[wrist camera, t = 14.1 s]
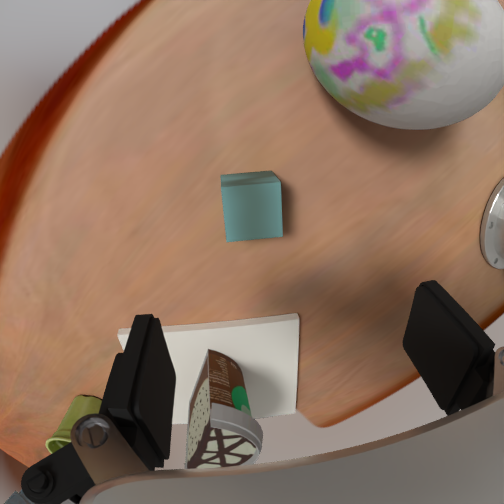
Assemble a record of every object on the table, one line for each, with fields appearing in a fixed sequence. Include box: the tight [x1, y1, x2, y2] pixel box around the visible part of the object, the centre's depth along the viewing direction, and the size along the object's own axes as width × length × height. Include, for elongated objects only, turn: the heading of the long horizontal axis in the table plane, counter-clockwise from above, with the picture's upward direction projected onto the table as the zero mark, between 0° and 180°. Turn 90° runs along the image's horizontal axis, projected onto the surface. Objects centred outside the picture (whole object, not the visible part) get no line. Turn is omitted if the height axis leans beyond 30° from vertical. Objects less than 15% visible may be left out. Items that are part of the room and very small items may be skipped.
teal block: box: [221, 171, 283, 242], centre depth 24 cm, size 4×4×4 cm
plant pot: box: [46, 395, 102, 454], centre depth 32 cm, size 9×9×9 cm
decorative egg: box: [303, 0, 504, 130], centre depth 14 cm, size 12×12×15 cm
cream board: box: [117, 313, 299, 424], centre depth 33 cm, size 18×16×1 cm
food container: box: [185, 349, 263, 469], centre depth 29 cm, size 12×6×10 cm, turn 161°
